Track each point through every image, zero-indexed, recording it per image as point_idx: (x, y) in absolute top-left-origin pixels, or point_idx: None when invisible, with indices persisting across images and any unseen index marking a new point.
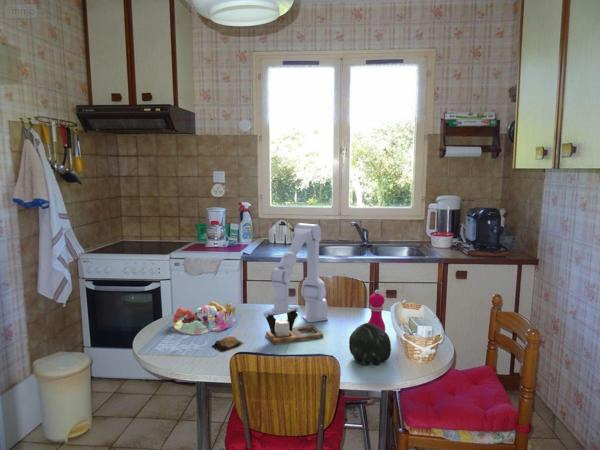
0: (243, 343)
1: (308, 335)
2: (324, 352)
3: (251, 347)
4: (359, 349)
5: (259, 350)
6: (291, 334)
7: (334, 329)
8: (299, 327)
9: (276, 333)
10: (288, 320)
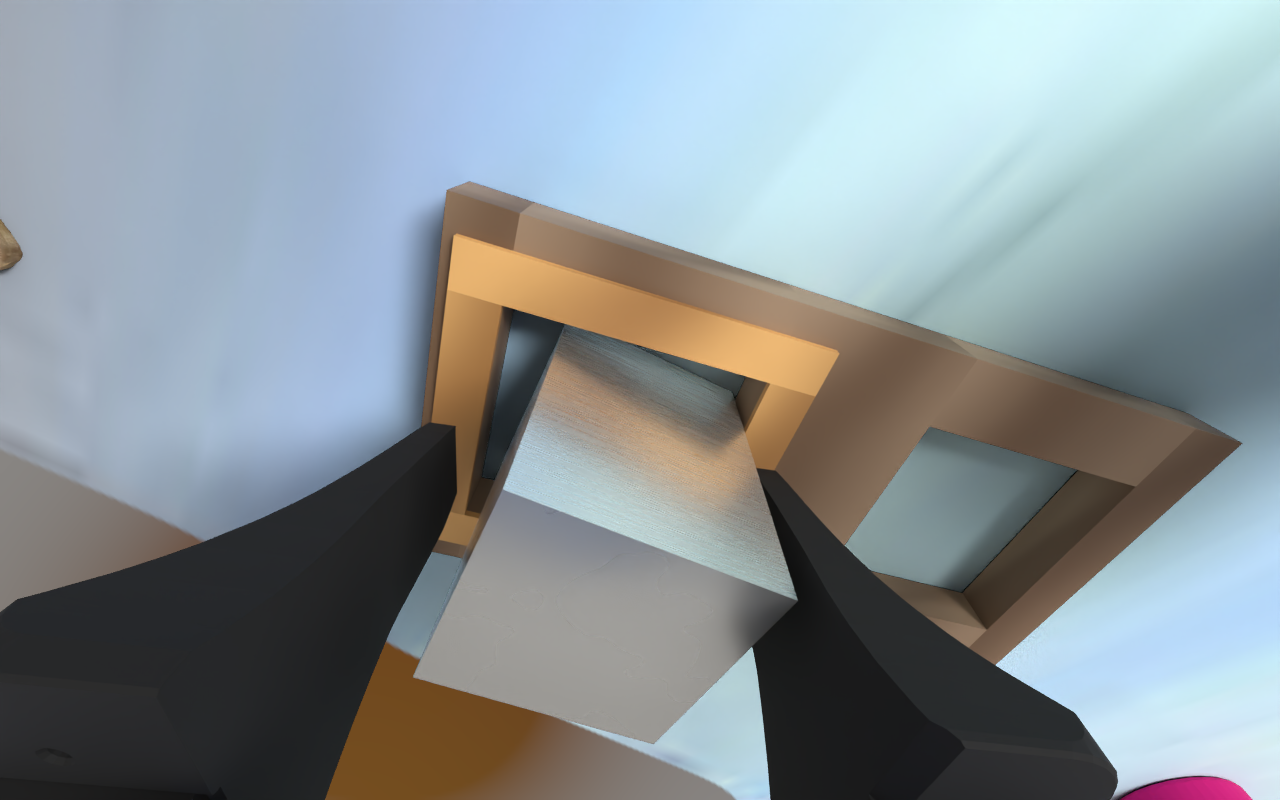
0: (10, 261)
1: None
2: (714, 768)
3: (137, 421)
4: None
5: (225, 524)
6: None
7: (1272, 567)
8: (1021, 398)
9: (481, 513)
10: (800, 590)
